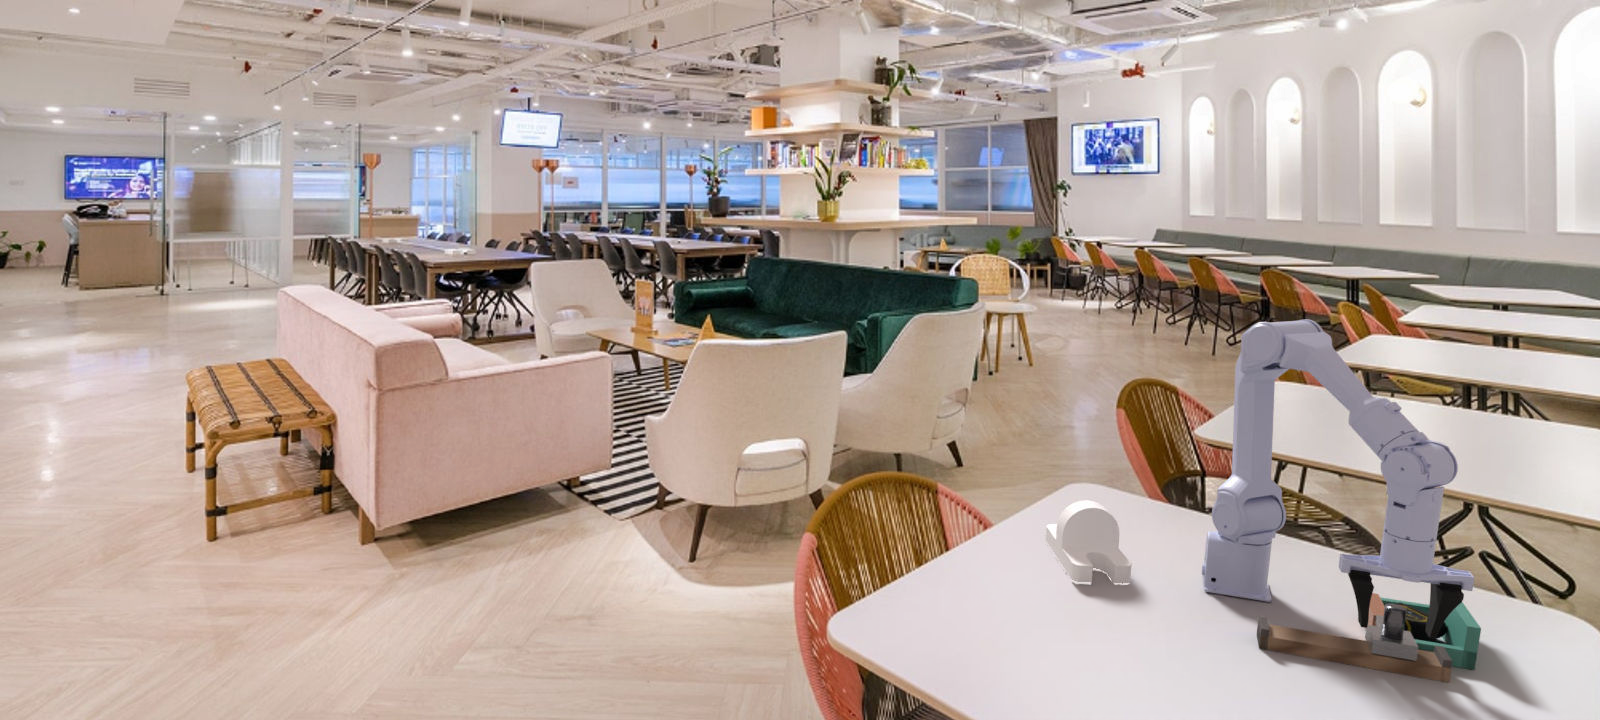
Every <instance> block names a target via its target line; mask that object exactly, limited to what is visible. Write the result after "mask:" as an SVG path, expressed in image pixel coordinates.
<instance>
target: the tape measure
mask: <svg viewBox="0 0 1600 720" xmlns="http://www.w3.org/2000/svg"><path fill="white" fill-rule="evenodd" d="M1396 604H1397V605H1400V606H1403V607H1405V608H1406V609H1407V612H1406V619H1405V626H1404V631H1410V632H1411V634H1412V636H1413V638H1414V639H1416V640H1422V641H1428V642H1434V641H1436V640H1437V639H1440V638H1442V636H1444V635H1445V633H1446V629H1447V626H1446V624H1445V622H1444V623H1443V624H1442V626H1441V628H1440V630H1439V632H1438V634H1437V637H1436V639H1432V638H1429V636H1428V635H1427V633H1426V621H1427V616H1428V613H1426V612H1424V611H1421V610H1419V609H1416V608H1414V607H1411V606H1409V605H1407V604H1404V603H1401V602H1399V603H1396Z"/></svg>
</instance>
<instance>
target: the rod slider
mask: <svg viewBox="0 0 1600 720" xmlns="http://www.w3.org/2000/svg"><path fill="white" fill-rule="evenodd" d="M1406 612H1407V609H1406V608H1405V607H1403V606H1400V605H1397V604H1391V603H1389V604H1385V606H1384V604H1383V602H1382V600H1381V599H1380V595H1379V593H1374V592H1373V593H1372V596H1371V601H1370V606H1369V620H1368V626H1367V628H1365V627H1364V629H1365V635H1364V639H1365V641H1367V644H1368V646H1369V648H1370V651H1371V653H1374V654H1380V655H1385V656H1391V657H1397V658H1403V659H1408V660H1414V661H1416V660H1417V653H1418V645H1417V643H1416V641H1415V640H1414V638H1413V636H1412V634H1411V632H1410V631H1404V626H1405V619H1406Z"/></svg>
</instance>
